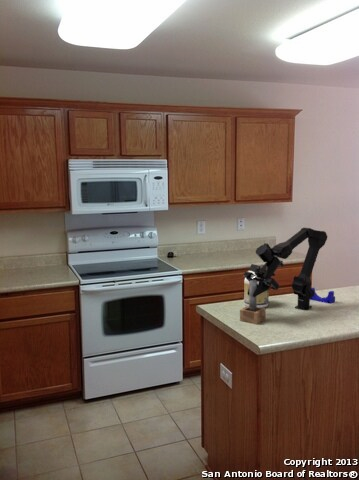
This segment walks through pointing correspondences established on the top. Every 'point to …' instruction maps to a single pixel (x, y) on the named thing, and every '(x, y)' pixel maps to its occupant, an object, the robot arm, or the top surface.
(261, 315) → the walnut square holder
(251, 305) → the slate dowel
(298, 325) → the top surface
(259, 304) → the supplement tub
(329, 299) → the cable clip
